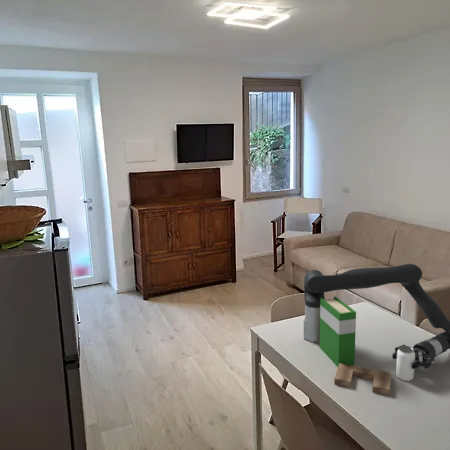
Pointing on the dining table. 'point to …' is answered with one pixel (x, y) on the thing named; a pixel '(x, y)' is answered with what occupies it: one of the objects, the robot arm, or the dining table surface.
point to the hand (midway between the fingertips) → (402, 361)
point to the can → (405, 363)
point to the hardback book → (337, 331)
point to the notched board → (349, 371)
